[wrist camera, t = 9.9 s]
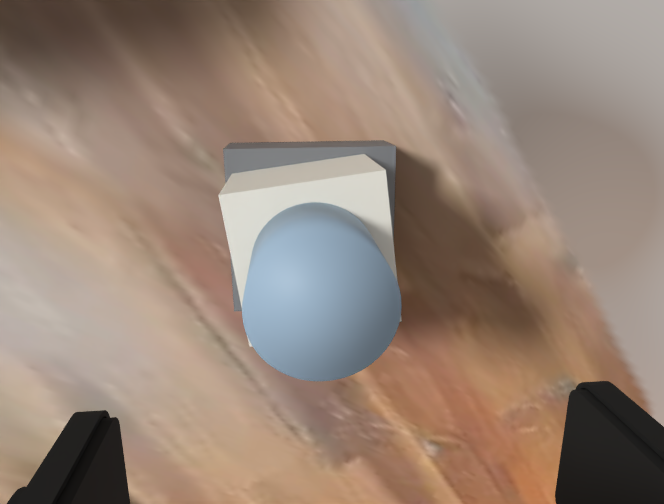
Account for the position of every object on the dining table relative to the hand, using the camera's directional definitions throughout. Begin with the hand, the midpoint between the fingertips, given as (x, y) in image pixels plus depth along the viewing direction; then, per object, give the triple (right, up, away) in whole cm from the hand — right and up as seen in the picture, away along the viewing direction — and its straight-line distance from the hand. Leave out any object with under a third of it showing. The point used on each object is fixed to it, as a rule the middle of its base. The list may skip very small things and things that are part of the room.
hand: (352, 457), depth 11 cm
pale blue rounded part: (-1, +4, +12) cm, 13 cm away
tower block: (-2, +6, +18) cm, 19 cm away
